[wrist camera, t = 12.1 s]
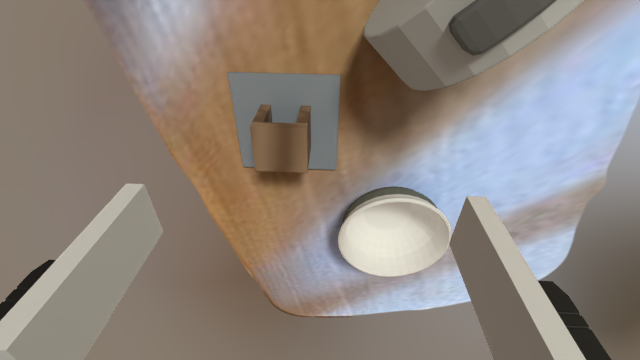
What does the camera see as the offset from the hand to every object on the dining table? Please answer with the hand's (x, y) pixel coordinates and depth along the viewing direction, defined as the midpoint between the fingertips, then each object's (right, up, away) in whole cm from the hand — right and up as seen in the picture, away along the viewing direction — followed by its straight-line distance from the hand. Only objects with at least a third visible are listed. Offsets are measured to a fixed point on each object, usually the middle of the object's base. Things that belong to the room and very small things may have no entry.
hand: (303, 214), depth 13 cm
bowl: (+13, -4, +45) cm, 48 cm away
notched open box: (-4, +10, +35) cm, 37 cm away
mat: (-4, +10, +36) cm, 37 cm away
